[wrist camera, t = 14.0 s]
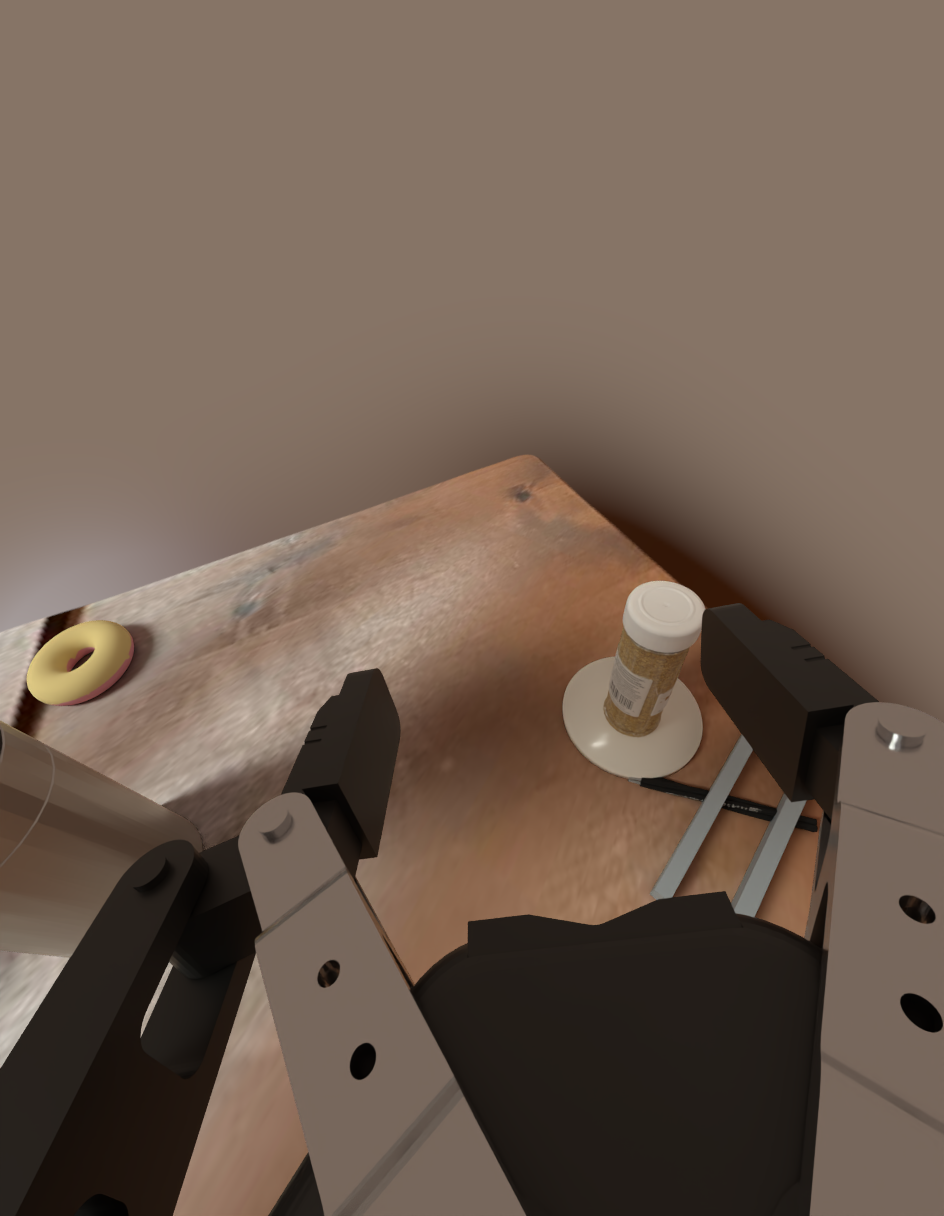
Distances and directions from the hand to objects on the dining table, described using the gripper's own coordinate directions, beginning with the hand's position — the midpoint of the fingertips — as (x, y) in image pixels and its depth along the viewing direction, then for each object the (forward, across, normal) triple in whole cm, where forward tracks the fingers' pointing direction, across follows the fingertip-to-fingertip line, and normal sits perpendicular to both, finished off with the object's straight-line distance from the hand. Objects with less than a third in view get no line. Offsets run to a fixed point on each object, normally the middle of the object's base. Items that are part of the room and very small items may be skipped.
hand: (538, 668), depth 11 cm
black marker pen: (+13, -11, +25) cm, 30 cm away
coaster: (+19, -7, +21) cm, 30 cm away
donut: (+29, +45, +13) cm, 55 cm away
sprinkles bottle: (+19, -7, +21) cm, 29 cm away
